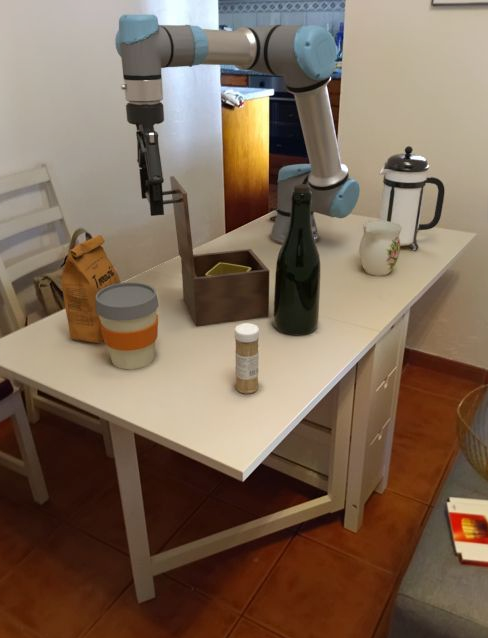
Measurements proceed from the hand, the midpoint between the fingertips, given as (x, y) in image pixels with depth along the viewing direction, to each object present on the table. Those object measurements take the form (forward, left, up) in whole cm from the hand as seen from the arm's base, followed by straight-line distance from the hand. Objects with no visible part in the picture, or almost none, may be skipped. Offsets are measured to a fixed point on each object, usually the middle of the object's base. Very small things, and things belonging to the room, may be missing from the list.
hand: (152, 206), depth 130 cm
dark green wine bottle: (+14, +29, -27) cm, 42 cm away
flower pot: (0, +17, -26) cm, 31 cm away
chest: (0, +16, -27) cm, 32 cm away
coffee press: (-29, +81, -27) cm, 90 cm away
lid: (0, +7, -5) cm, 9 cm away
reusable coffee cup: (+18, -9, -27) cm, 34 cm away
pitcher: (-12, +64, -27) cm, 71 cm away
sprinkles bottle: (+36, +11, -27) cm, 47 cm away
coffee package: (+4, -15, -27) cm, 31 cm away
